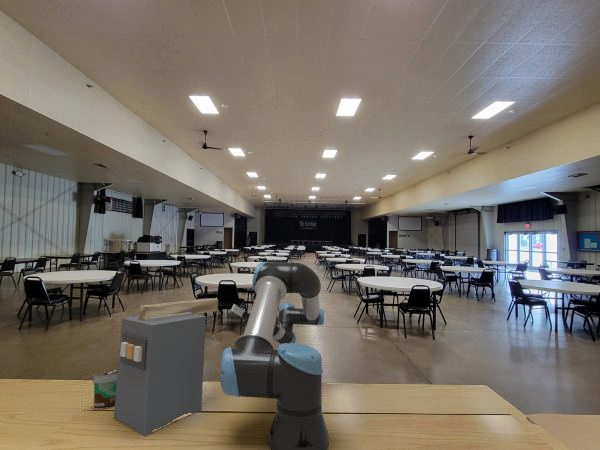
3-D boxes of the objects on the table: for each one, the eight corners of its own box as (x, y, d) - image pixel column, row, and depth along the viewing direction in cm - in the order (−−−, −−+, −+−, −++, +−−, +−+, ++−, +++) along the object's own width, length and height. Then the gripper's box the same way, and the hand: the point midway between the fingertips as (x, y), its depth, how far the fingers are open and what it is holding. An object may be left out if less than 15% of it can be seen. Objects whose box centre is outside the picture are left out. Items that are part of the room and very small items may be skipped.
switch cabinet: (201, 409, 96) (206, 313, 99) (139, 438, 80) (148, 322, 83) (169, 396, 105) (175, 308, 108) (108, 420, 89) (117, 315, 92)
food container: (107, 413, 93) (110, 377, 94) (89, 410, 94) (92, 376, 95) (136, 396, 105) (138, 364, 106) (120, 394, 106) (123, 363, 107)
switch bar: (217, 310, 111) (218, 299, 111) (147, 321, 89) (148, 307, 90) (209, 309, 113) (210, 298, 114) (139, 319, 92) (140, 305, 92)
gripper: (293, 341, 130) (265, 321, 116) (249, 333, 144) (219, 314, 130) (298, 323, 134) (272, 302, 120) (255, 317, 148) (227, 297, 134)
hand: (245, 308), depth 125 cm, fingers open, 13 cm apart
